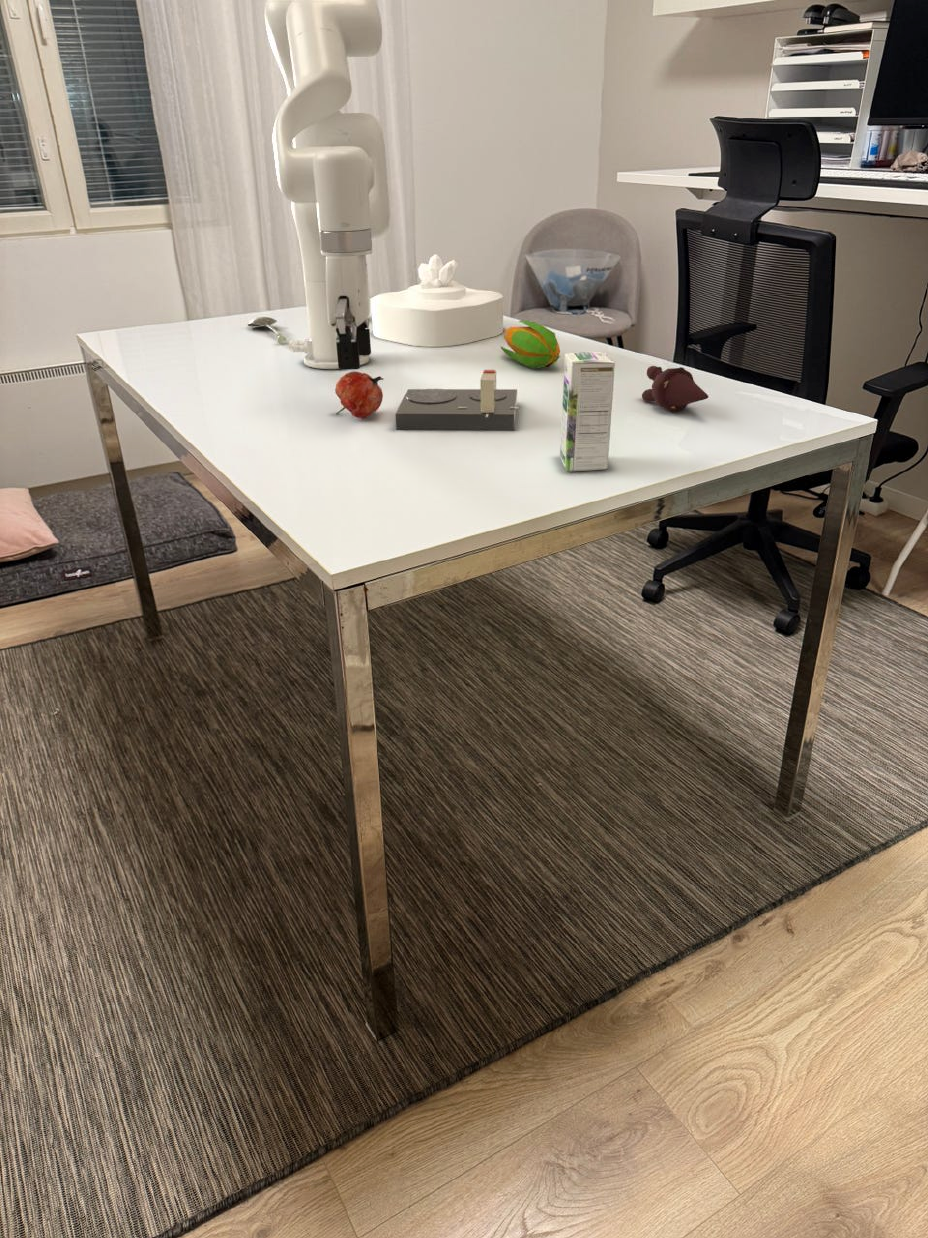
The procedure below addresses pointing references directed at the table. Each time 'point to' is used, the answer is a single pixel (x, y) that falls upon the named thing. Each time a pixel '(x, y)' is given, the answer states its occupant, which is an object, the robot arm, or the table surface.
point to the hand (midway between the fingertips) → (355, 361)
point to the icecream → (672, 388)
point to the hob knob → (488, 391)
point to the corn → (532, 345)
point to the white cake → (437, 310)
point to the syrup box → (586, 411)
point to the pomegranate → (359, 394)
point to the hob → (457, 413)
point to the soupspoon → (267, 322)
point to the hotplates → (444, 396)
